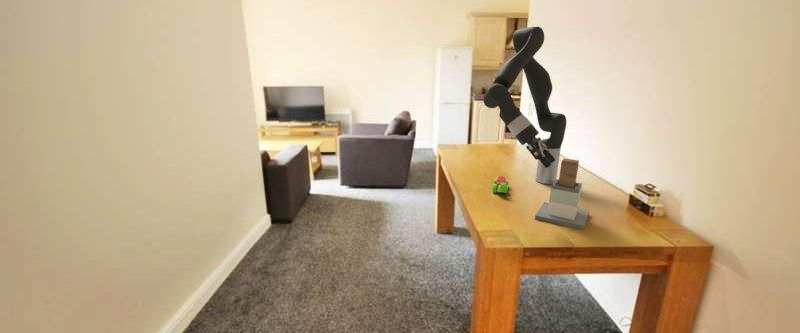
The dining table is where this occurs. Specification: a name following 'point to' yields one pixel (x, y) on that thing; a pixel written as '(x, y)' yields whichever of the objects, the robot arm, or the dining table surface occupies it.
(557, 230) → the dining table surface
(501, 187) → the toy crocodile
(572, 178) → the walnut brick
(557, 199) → the tower
